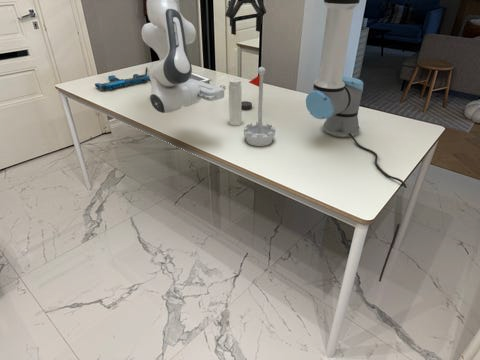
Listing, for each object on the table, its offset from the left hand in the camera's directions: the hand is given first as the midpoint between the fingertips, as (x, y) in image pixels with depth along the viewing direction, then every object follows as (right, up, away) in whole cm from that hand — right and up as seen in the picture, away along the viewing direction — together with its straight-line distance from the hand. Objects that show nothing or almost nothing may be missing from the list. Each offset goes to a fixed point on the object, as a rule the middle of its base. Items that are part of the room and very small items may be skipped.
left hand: (216, 84), depth 139 cm
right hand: (+13, +28, +15) cm, 34 cm away
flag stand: (+18, -22, +3) cm, 29 cm away
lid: (+12, -1, +33) cm, 35 cm away
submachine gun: (-62, +21, +70) cm, 96 cm away
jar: (+8, -13, +18) cm, 23 cm away
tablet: (-27, +26, +78) cm, 87 cm away
